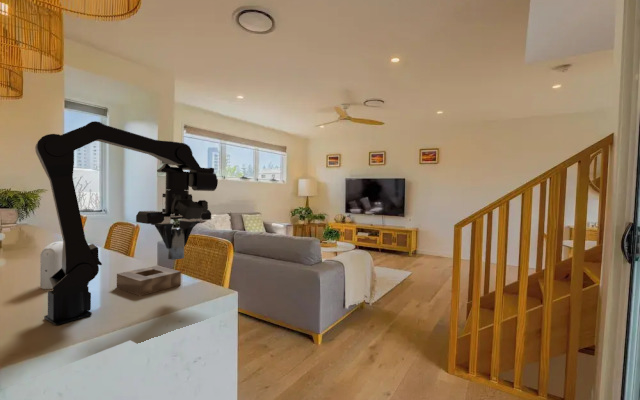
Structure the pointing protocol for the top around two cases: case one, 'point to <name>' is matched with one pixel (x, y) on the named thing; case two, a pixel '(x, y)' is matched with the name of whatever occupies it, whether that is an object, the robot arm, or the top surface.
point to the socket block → (148, 280)
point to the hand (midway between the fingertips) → (176, 247)
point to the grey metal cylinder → (177, 244)
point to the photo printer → (50, 263)
